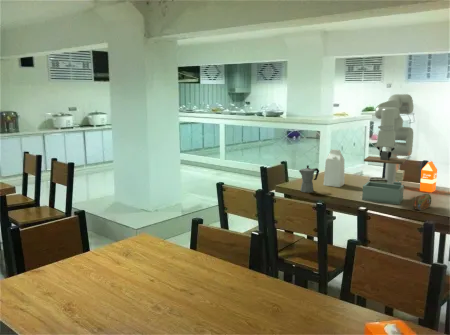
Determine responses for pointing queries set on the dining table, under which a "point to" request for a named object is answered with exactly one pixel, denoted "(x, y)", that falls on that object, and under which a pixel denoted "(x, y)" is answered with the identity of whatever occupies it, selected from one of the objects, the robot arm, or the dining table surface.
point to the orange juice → (428, 178)
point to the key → (399, 175)
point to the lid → (385, 159)
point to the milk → (334, 169)
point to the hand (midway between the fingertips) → (385, 157)
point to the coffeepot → (308, 179)
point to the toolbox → (383, 192)
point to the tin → (422, 202)
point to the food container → (378, 180)
